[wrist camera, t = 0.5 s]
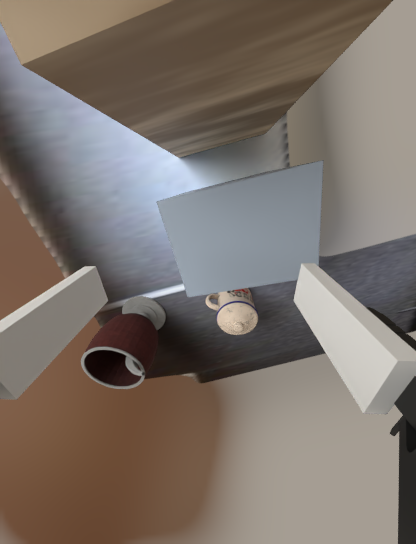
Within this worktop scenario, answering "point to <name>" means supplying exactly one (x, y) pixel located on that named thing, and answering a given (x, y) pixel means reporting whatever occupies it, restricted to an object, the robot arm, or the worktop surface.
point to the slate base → (246, 229)
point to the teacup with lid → (234, 311)
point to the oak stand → (186, 59)
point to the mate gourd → (125, 345)
